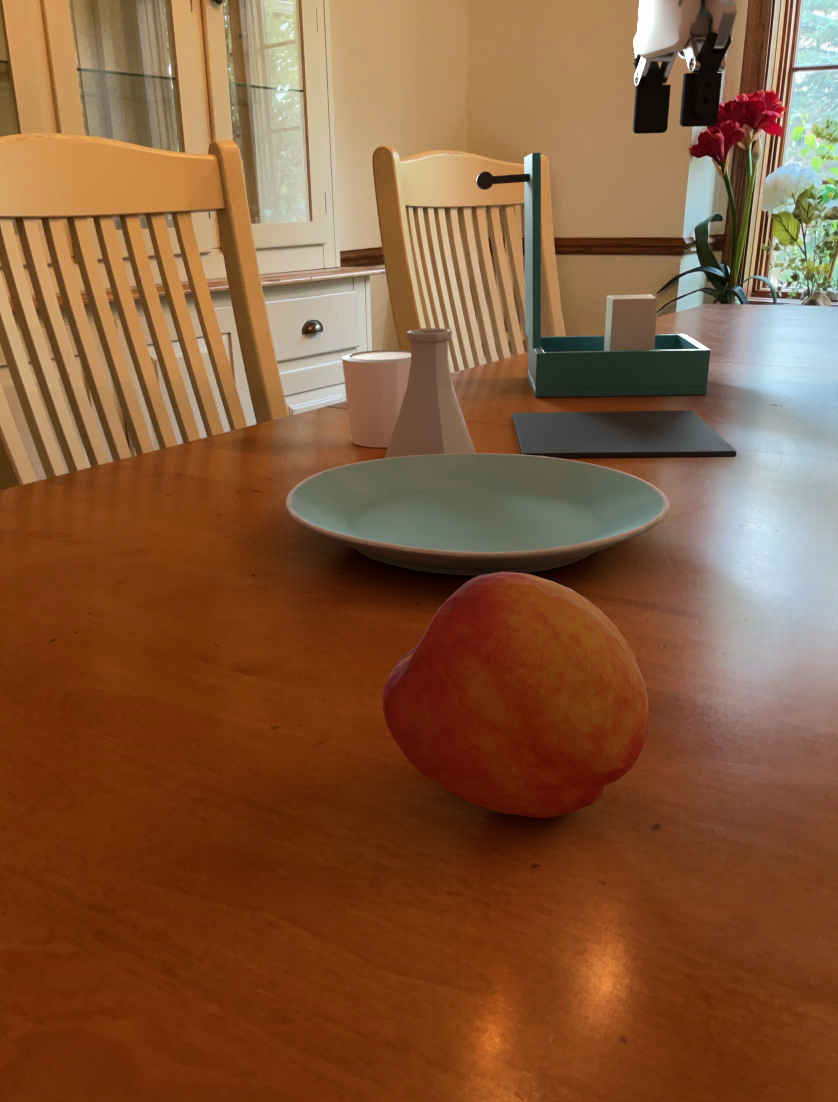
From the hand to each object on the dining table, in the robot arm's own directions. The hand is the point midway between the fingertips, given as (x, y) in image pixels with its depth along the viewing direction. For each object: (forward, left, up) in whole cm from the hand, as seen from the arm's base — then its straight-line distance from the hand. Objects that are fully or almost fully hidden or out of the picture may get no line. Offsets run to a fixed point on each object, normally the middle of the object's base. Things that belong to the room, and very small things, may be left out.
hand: (672, 129), depth 93 cm
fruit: (+17, +74, -24) cm, 80 cm away
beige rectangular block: (+2, -7, -23) cm, 24 cm away
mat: (+6, +17, -24) cm, 30 cm away
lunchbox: (+3, -7, -24) cm, 25 cm away
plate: (+18, +45, -24) cm, 54 cm away
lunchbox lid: (+11, -7, -10) cm, 17 cm away
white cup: (+25, +18, -24) cm, 39 cm away
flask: (+21, +28, -24) cm, 43 cm away
